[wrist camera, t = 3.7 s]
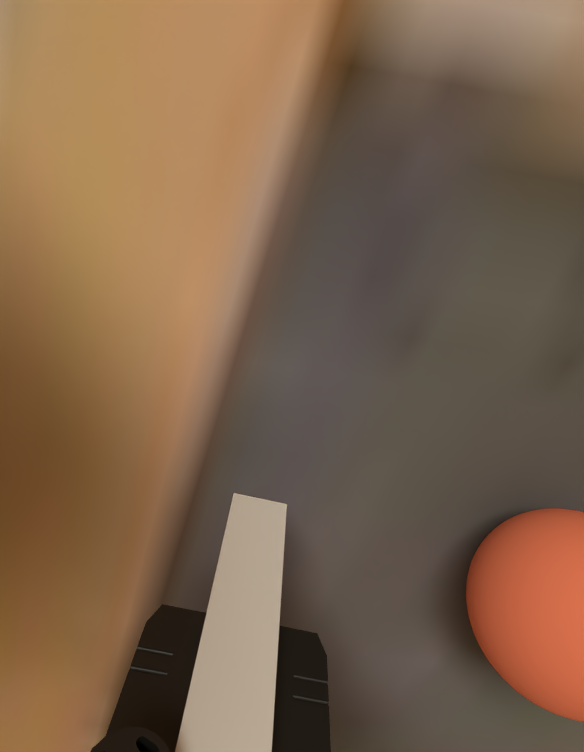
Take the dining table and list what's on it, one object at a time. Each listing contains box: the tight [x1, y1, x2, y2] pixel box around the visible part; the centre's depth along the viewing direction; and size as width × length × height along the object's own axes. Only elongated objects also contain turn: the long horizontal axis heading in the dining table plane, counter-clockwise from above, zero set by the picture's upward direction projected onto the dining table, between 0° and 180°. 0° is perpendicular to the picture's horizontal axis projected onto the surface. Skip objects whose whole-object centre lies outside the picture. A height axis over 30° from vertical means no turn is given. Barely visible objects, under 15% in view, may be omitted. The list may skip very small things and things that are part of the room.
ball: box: [466, 508, 584, 722], centre depth 14 cm, size 6×6×6 cm
